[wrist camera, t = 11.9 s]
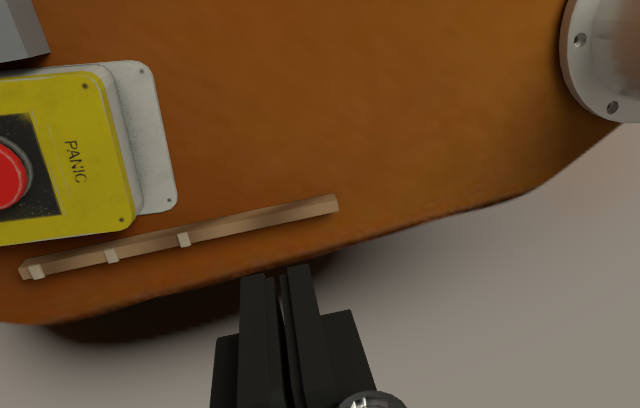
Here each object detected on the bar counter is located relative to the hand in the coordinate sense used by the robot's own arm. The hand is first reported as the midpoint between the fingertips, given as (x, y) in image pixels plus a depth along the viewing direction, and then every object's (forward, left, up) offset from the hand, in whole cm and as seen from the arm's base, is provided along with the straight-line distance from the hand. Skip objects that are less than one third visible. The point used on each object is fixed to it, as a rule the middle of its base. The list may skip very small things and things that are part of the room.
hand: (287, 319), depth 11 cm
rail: (+6, +6, -19) cm, 20 cm away
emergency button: (+13, -1, -20) cm, 23 cm away
